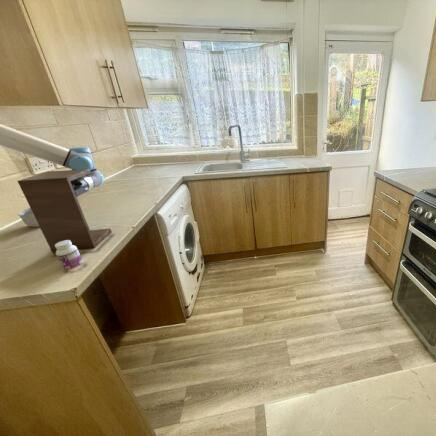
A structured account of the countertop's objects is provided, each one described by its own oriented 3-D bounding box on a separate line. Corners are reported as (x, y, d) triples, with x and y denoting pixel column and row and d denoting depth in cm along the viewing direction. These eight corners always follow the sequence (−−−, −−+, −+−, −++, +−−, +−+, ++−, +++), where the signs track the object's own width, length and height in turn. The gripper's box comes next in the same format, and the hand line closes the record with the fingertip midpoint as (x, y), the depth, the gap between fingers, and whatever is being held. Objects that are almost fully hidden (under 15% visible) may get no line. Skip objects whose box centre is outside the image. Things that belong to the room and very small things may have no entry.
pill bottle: (61, 270, 82) (47, 245, 78) (78, 261, 86) (66, 237, 82) (71, 273, 80) (58, 248, 76) (88, 264, 84) (76, 239, 80)
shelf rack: (76, 238, 103) (47, 171, 91) (112, 234, 105) (89, 169, 94) (53, 255, 90) (17, 180, 79) (95, 251, 93) (66, 177, 81)
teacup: (58, 223, 117) (50, 208, 113) (26, 232, 110) (17, 215, 106) (54, 216, 126) (47, 201, 122) (25, 223, 118) (17, 208, 115)
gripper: (104, 191, 115) (74, 209, 94) (59, 194, 111) (18, 213, 91) (99, 175, 112) (67, 190, 91) (52, 178, 108) (8, 194, 88)
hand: (42, 202), depth 91 cm, fingers closed on energy drink can, 6 cm apart
